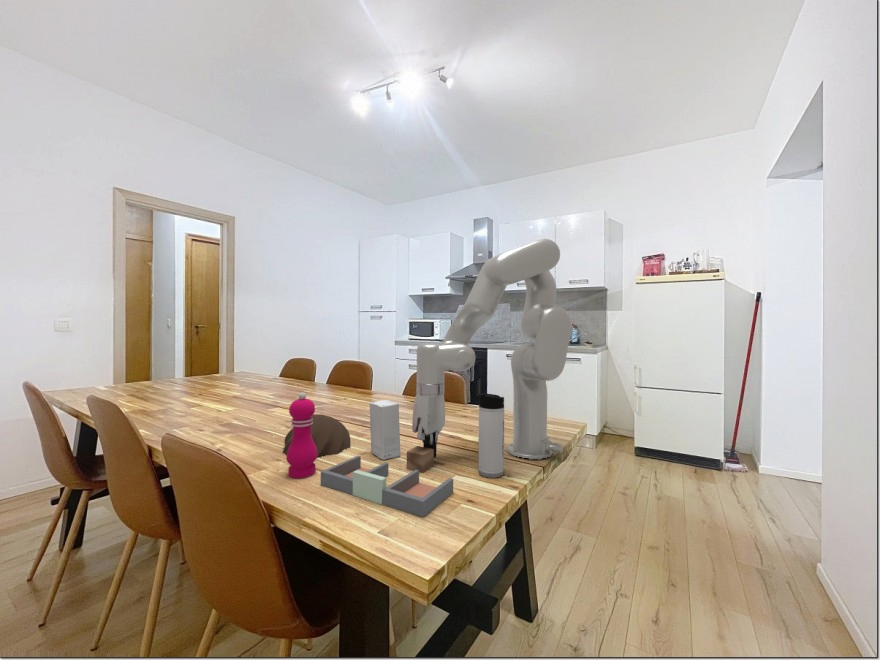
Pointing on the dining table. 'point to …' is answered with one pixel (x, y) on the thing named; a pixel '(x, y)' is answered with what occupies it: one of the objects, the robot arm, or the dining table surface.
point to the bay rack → (373, 487)
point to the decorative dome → (325, 436)
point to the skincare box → (385, 429)
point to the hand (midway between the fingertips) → (429, 457)
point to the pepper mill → (301, 439)
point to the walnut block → (420, 459)
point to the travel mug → (491, 435)
